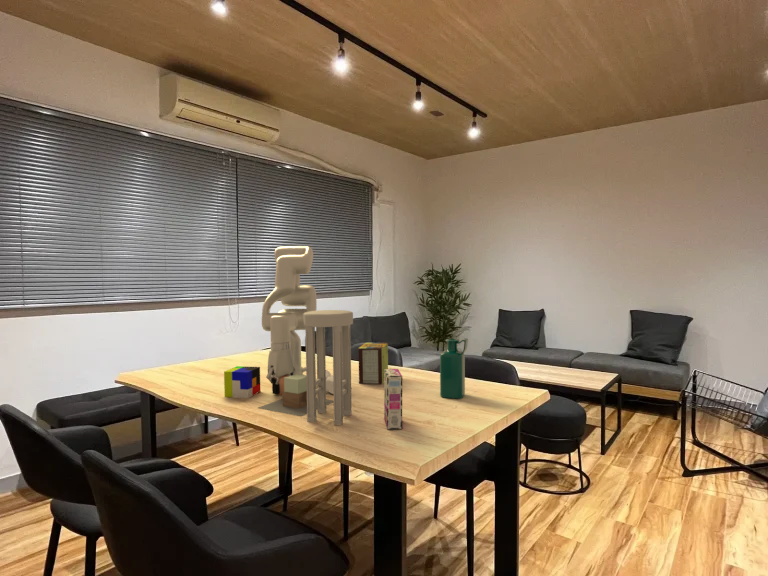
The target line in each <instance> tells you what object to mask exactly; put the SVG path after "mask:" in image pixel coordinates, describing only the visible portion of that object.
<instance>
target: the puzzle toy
mask: <svg viewBox="0 0 768 576" xmlns="http://www.w3.org/2000/svg"><path fill="white" fill-rule="evenodd" d="M223 380H224V381H223V382H224V383H223V384H224V398H237V397H241V398H242V399H249V398H251V397H253V396H255V395H256V393H257V392H258V393H260V392H261V367H260V366H243V365H242V366H237V365H236V366H235V367H232V368H230V369H227V370H224V371H223ZM259 391H260V392H259ZM258 393H257V394H258ZM254 394H255V395H254ZM252 395H253V396H252ZM241 398H240V399H241Z"/></svg>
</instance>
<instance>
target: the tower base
mask: <svg viewBox="0 0 768 576" xmlns="http://www.w3.org/2000/svg"><path fill="white" fill-rule="evenodd" d="M281 396H282V397H281V399H283V406H287V407H292V408H298V409H299V408H302V407H304V406H307V391H305V392H303V393H300V394H295V393H289V392H284V391H283V392H282V395H281Z"/></svg>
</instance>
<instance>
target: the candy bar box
mask: <svg viewBox="0 0 768 576" xmlns="http://www.w3.org/2000/svg"><path fill="white" fill-rule="evenodd" d="M383 385H384V388H383V389H384V393H383V400H384V403H383V406H384V408H383V410H384V411H383V414H384V419H383V420H384V422H385V426H386V429H387V430H402V429H403V375H402V373H401V371H400V370H399V368H388V369H384V382H383Z"/></svg>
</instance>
